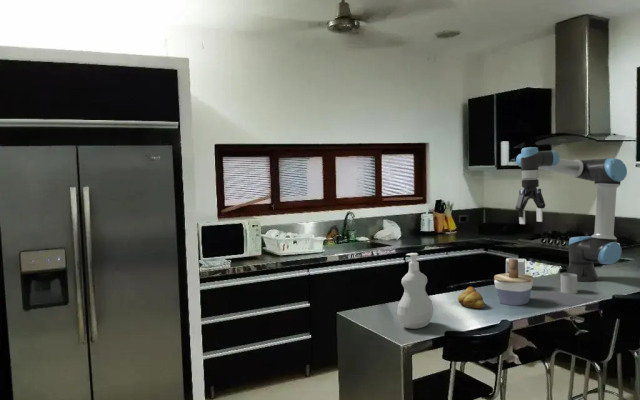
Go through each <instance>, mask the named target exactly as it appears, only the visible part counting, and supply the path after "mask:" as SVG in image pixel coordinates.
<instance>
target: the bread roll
mask: <svg viewBox="0 0 640 400" xmlns="http://www.w3.org/2000/svg"><path fill="white" fill-rule="evenodd" d="M457 300H458V303H459V304H460V305H461V306H464V307H466V308H469V309H470V308H473V309H483V308H484V307H485V301H484V299H483V296H482V294H481V293H480V292H478V291H477V290H476V289H475V287H473V286H468V287H467V288H466V289H465V290H464V291H463V292H461V293H460V294H459V295H458V298H457Z"/></svg>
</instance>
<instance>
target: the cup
mask: <svg viewBox="0 0 640 400" xmlns="http://www.w3.org/2000/svg"><path fill="white" fill-rule="evenodd" d="M560 292H561V293H562V294H567V295H570V294H571V295H574V294H578V281H577V275H576V274H570V273H566V272H565V273H560Z"/></svg>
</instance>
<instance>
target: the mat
mask: <svg viewBox="0 0 640 400" xmlns="http://www.w3.org/2000/svg"><path fill="white" fill-rule="evenodd" d="M529 299H531V300H532V299H533V300H538V301H542V302H546V303H551V304H556V305H560V306H565V307H570V308H571V307H574V306H578V305H581V304H584V303H587V302H591V301H593V300H594V299H592V298H587V297H582V296H578V295H577V296H576V295H573V294H571V295H570V294H568V293H562V292H561V293H560V292H556V291H550V290H548V291H543V292H541V293H540V292H539V293H536V294H532V295H530V297H529Z"/></svg>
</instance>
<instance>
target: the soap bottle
mask: <svg viewBox="0 0 640 400" xmlns="http://www.w3.org/2000/svg"><path fill="white" fill-rule="evenodd" d="M405 256H410V262H408V272H407V273H405V275H404V276H403V277H402V279H401V285H402V287H403V289H404V290H403V291H404V292H403V294H402V297H401V299H400V300H399V302H398V304H397V312H396V314H397V317H398V321H399V323H400V324H401V325H402V326H403V327H404V328H406V329H413V330H414V329H415V330H416V329H417V330H418V329H422V328H424V327H426V326H428V325H429V324H430V322H431V320H432V319H433V314H434V306H433V300H432V299H431V298H430V297H429V295H428V293H427V291H426V285H427V283H428V278H427V276H426V275H425V274H424V273H422V272H421V271H420V263H419V261H417V260H418V259H417V256H419V253H417V252H410V253H406V254H405Z"/></svg>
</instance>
